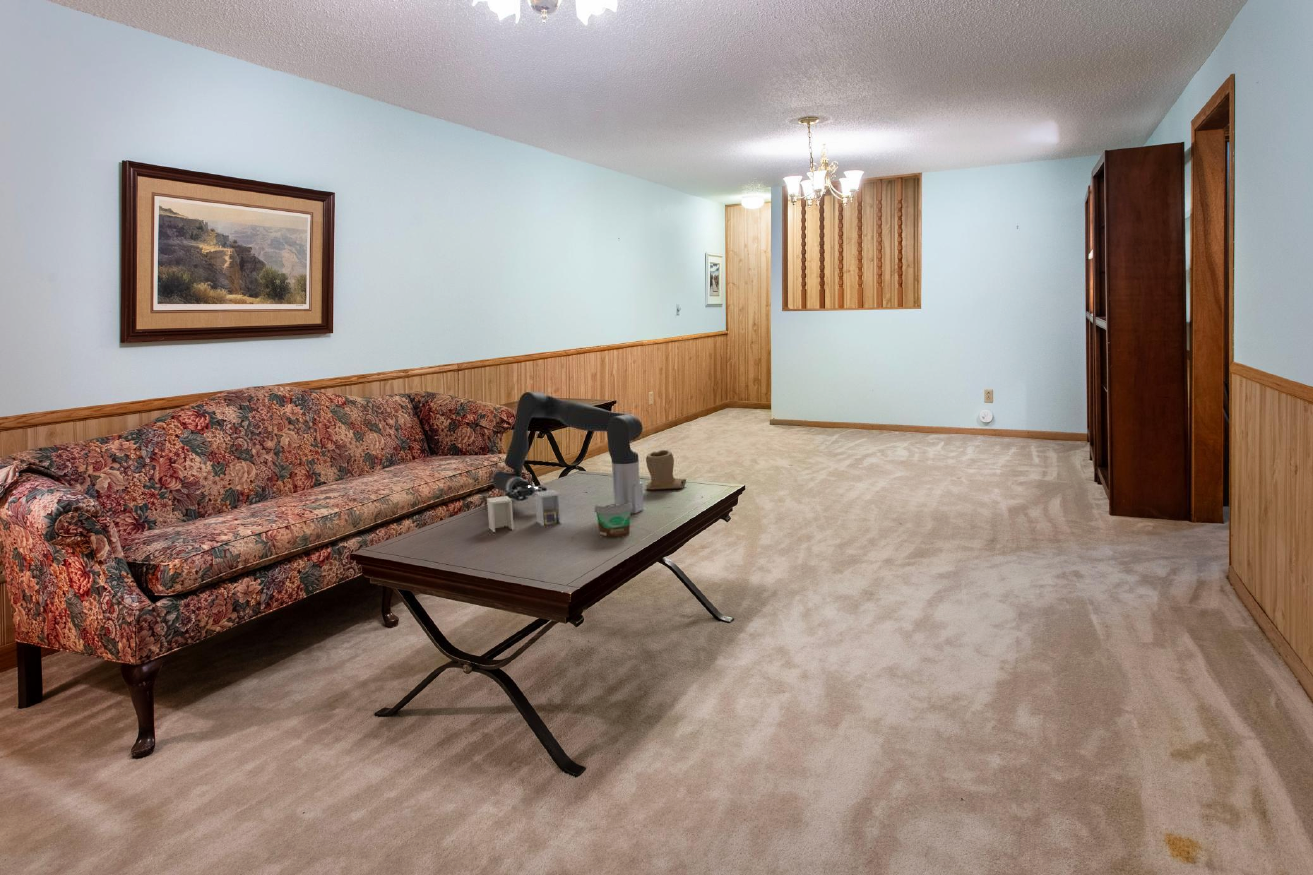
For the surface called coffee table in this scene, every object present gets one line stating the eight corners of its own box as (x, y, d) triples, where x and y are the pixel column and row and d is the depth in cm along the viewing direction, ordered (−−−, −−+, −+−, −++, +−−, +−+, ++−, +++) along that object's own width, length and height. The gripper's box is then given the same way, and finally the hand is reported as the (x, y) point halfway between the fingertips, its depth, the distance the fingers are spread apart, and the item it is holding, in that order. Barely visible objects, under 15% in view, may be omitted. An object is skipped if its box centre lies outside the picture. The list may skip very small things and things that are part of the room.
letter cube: (553, 520, 284) (552, 509, 284) (556, 523, 280) (556, 511, 280) (541, 522, 283) (541, 510, 282) (545, 524, 279) (544, 513, 278)
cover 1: (509, 525, 280) (507, 495, 278) (513, 530, 274) (511, 499, 272) (489, 528, 277) (487, 498, 276) (493, 532, 271) (491, 502, 270)
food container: (604, 541, 255) (602, 509, 253) (595, 537, 260) (593, 505, 259) (640, 534, 260) (639, 503, 259) (631, 530, 266) (630, 499, 264)
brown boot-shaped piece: (644, 493, 320) (642, 453, 318) (648, 486, 332) (646, 448, 330) (684, 492, 318) (682, 452, 316) (686, 485, 330) (685, 447, 328)
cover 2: (556, 518, 286) (554, 489, 284) (561, 523, 280) (559, 493, 278) (536, 521, 283) (534, 492, 282) (542, 525, 277) (540, 495, 276)
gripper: (498, 480, 300) (509, 488, 286) (537, 475, 306) (550, 482, 291) (499, 501, 301) (511, 509, 287) (538, 496, 307) (551, 504, 292)
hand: (530, 496), depth 289 cm, fingers open, 8 cm apart
